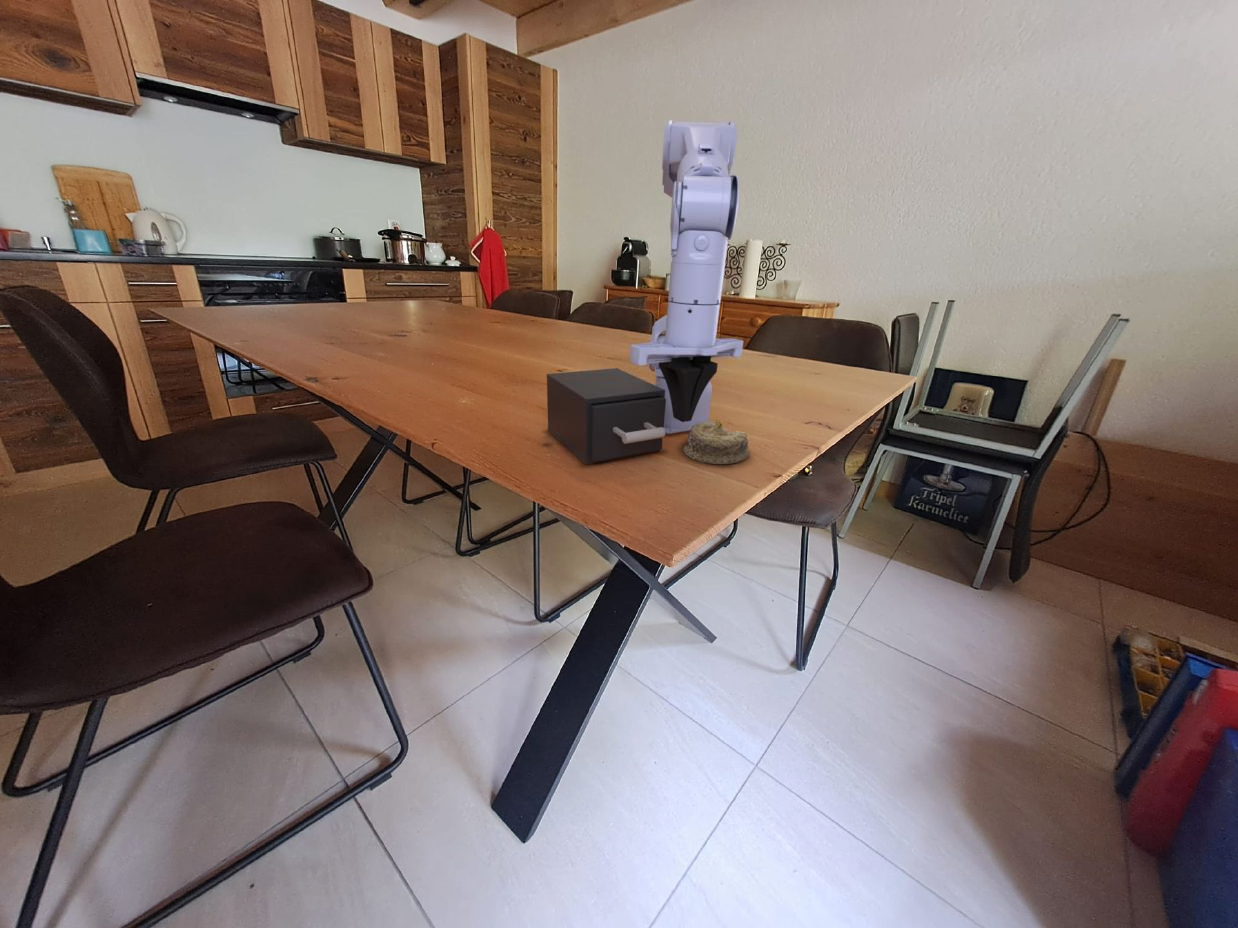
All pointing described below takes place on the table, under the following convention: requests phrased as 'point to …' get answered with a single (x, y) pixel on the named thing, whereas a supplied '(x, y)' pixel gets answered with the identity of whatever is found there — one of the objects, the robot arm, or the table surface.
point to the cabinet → (575, 396)
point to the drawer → (626, 427)
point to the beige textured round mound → (716, 444)
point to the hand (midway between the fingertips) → (682, 419)
